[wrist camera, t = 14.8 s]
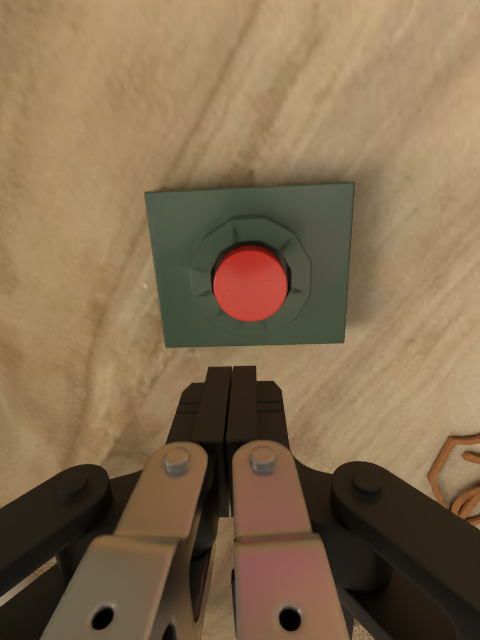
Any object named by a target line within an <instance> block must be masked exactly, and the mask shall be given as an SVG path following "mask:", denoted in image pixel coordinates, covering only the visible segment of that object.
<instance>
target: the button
mask: <svg viewBox="0 0 480 640" xmlns="http://www.w3.org/2000/svg"><path fill="white" fill-rule="evenodd" d="M287 289H288V283H287V277H286V274H285V271H284V268H283V265H282V263H281V261H280V260H279V258H278V257H277V256H276V255H275V254H274V253H273V252H272V251H270V250H268V249H266V248H264V247H261V246H257V245H244V246H240V247H238V248H235V249H233V250H232V251H230V252H229V253H228V254H227V255H226V256H225V257H224V258H223V259H222V261H221V263H220V264H219V267H218V269H217V272H216V274H215V278H214V294H215V298H216V300H217V302H218V304H219V306H220V307H221V308H222V309H223V310H224V311H225V312H226V313H227V314H228V315H230V316H231V317H233V318H235V319H238V320H241V321H246V322H254V321H260V320H263V319H266V318H268V317H270V316H271V315H273V314H274V313H275V312H277V311H278V309H279V308H280V307H281V306H282V304H283V302H284V300H285V298H286V295H287Z"/></svg>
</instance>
